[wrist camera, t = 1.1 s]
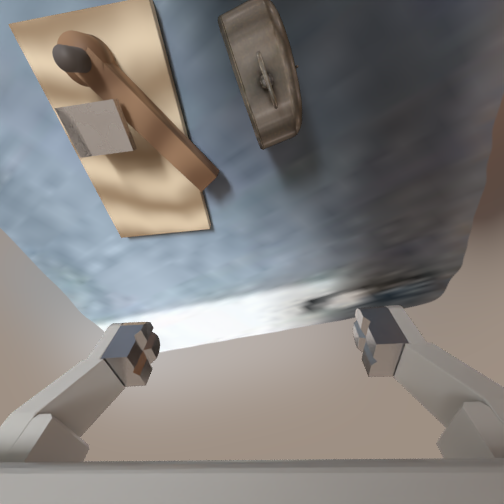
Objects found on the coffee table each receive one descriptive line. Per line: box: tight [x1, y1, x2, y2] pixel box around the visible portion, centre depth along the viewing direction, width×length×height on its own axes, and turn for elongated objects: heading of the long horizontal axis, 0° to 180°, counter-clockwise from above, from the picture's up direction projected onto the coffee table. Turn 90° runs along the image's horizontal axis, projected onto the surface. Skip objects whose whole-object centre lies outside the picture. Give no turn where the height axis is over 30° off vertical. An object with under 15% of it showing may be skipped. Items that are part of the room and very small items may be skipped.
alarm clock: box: [218, 0, 302, 150], centre depth 21 cm, size 11×5×16 cm, turn 21°
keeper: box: [54, 98, 137, 158], centre depth 28 cm, size 5×6×4 cm
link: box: [52, 30, 219, 192], centre depth 27 cm, size 19×4×5 cm, turn 42°
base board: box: [9, 0, 211, 238], centre depth 32 cm, size 26×15×1 cm, turn 7°
